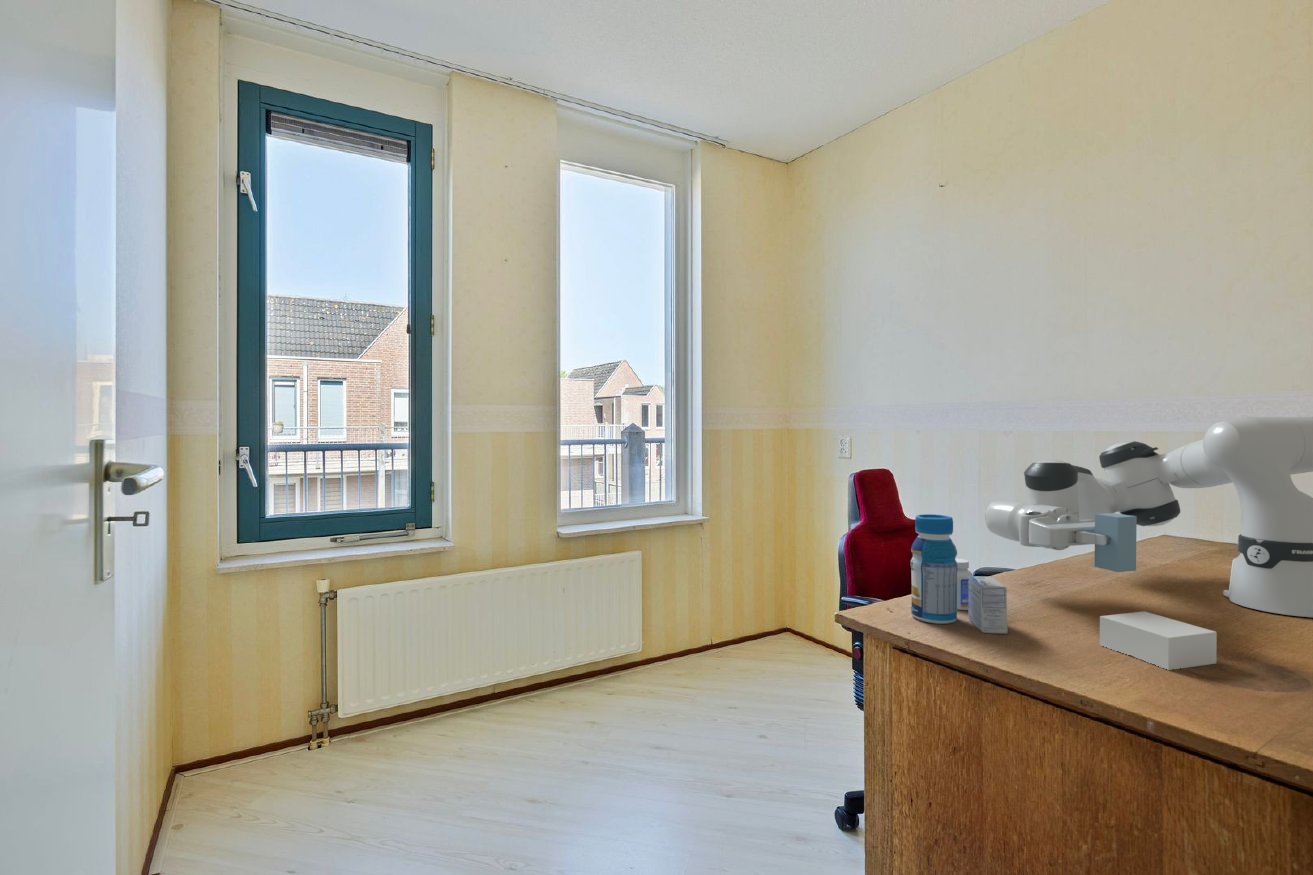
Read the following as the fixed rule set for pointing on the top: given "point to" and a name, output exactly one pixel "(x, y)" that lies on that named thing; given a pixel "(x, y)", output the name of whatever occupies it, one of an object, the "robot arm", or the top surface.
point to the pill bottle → (962, 584)
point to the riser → (1159, 640)
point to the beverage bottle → (934, 570)
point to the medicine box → (987, 604)
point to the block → (1116, 542)
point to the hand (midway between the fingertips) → (1119, 539)
